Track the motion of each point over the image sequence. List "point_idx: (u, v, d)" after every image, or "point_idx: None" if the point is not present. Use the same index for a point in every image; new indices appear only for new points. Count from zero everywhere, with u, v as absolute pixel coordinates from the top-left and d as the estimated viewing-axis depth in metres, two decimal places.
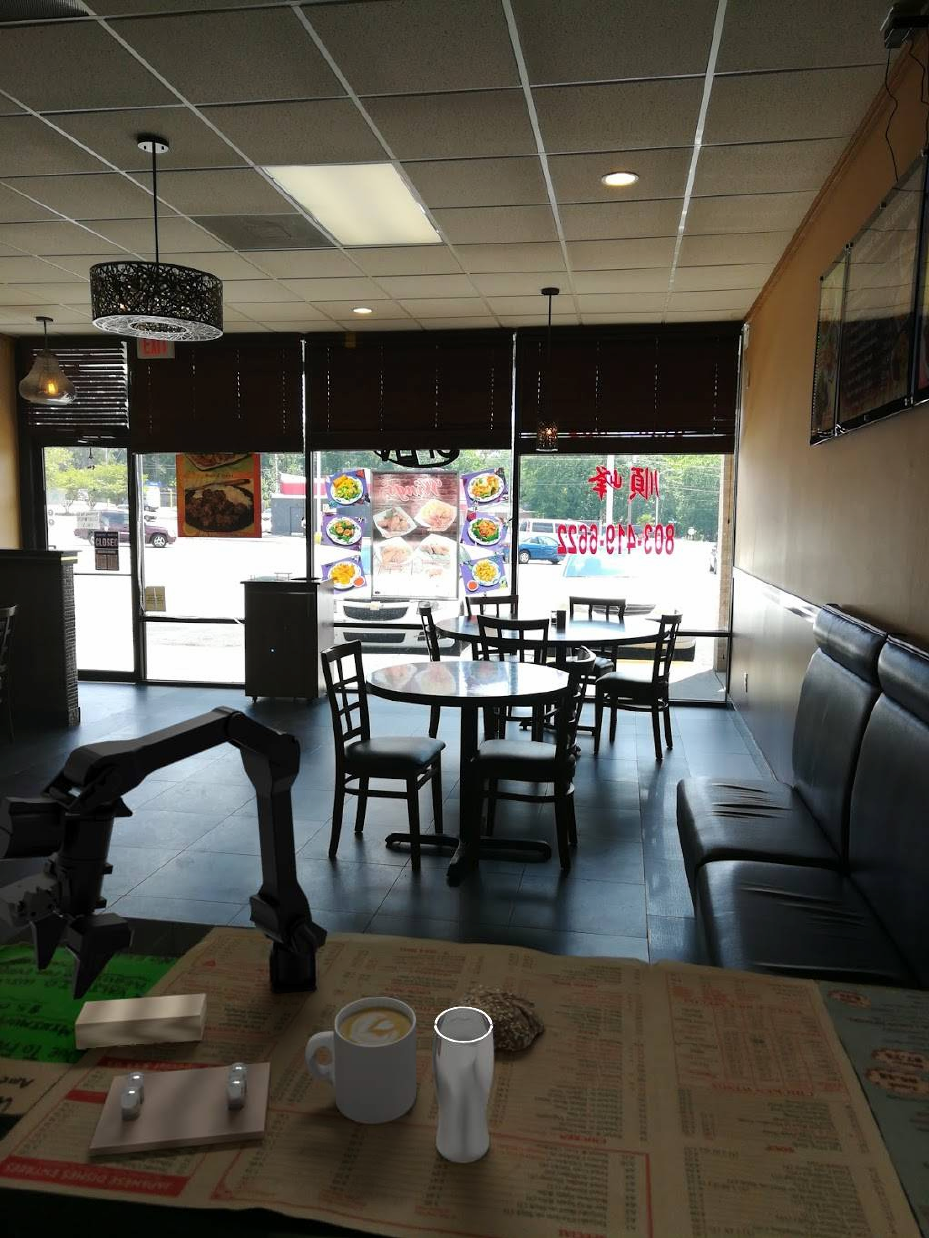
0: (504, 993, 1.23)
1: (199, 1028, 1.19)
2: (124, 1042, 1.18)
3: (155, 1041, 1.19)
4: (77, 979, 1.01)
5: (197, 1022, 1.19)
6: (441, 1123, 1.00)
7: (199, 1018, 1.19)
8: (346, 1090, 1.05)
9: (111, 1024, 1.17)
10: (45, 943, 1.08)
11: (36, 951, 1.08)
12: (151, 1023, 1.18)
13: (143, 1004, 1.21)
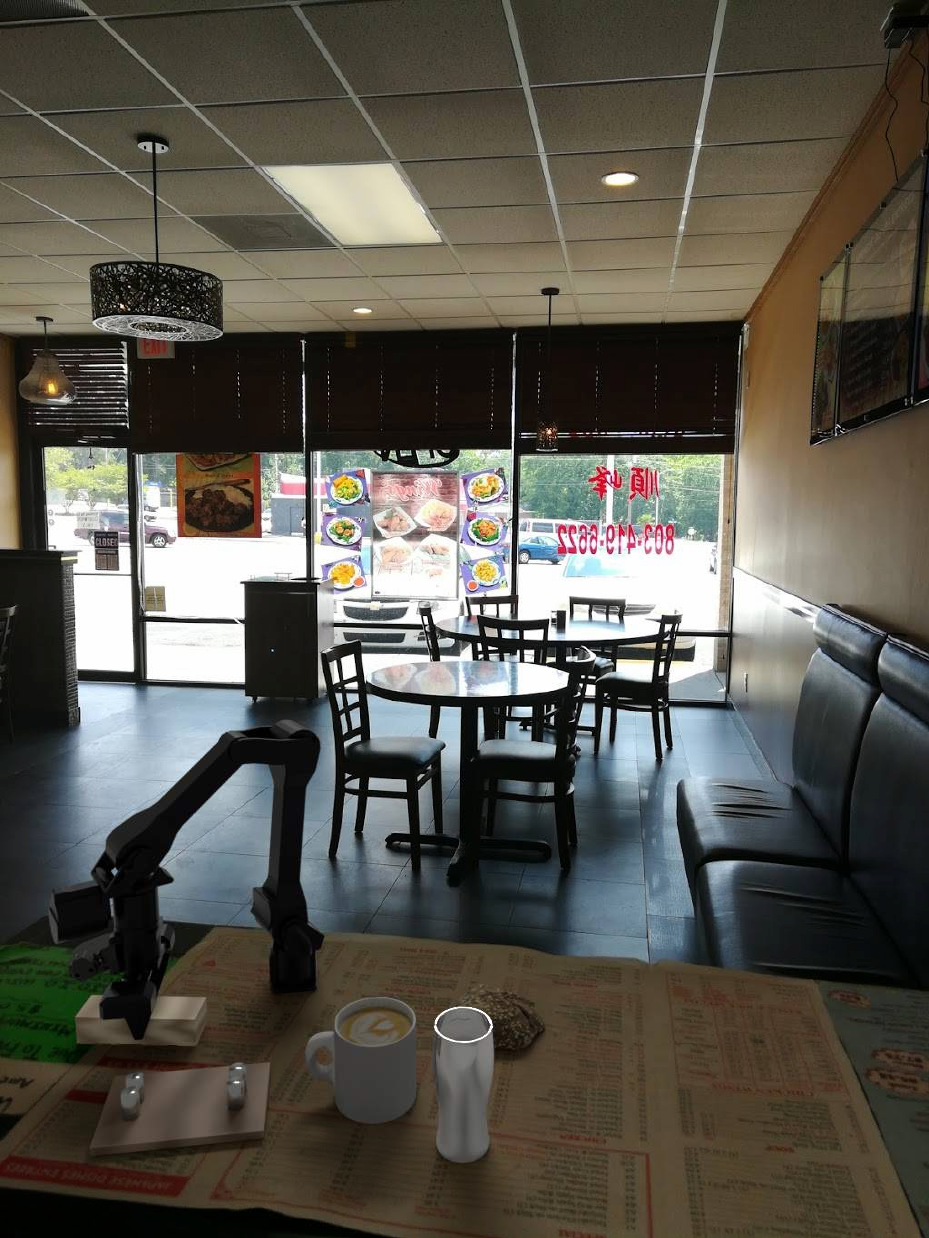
0: (504, 992, 1.24)
1: (194, 1032, 1.18)
2: (121, 1039, 1.18)
3: (151, 1041, 1.18)
4: (130, 1025, 1.16)
5: (191, 1026, 1.18)
6: (441, 1123, 1.00)
7: (194, 1022, 1.18)
8: (346, 1090, 1.05)
9: (109, 1020, 1.18)
10: None
11: None
12: None
13: None
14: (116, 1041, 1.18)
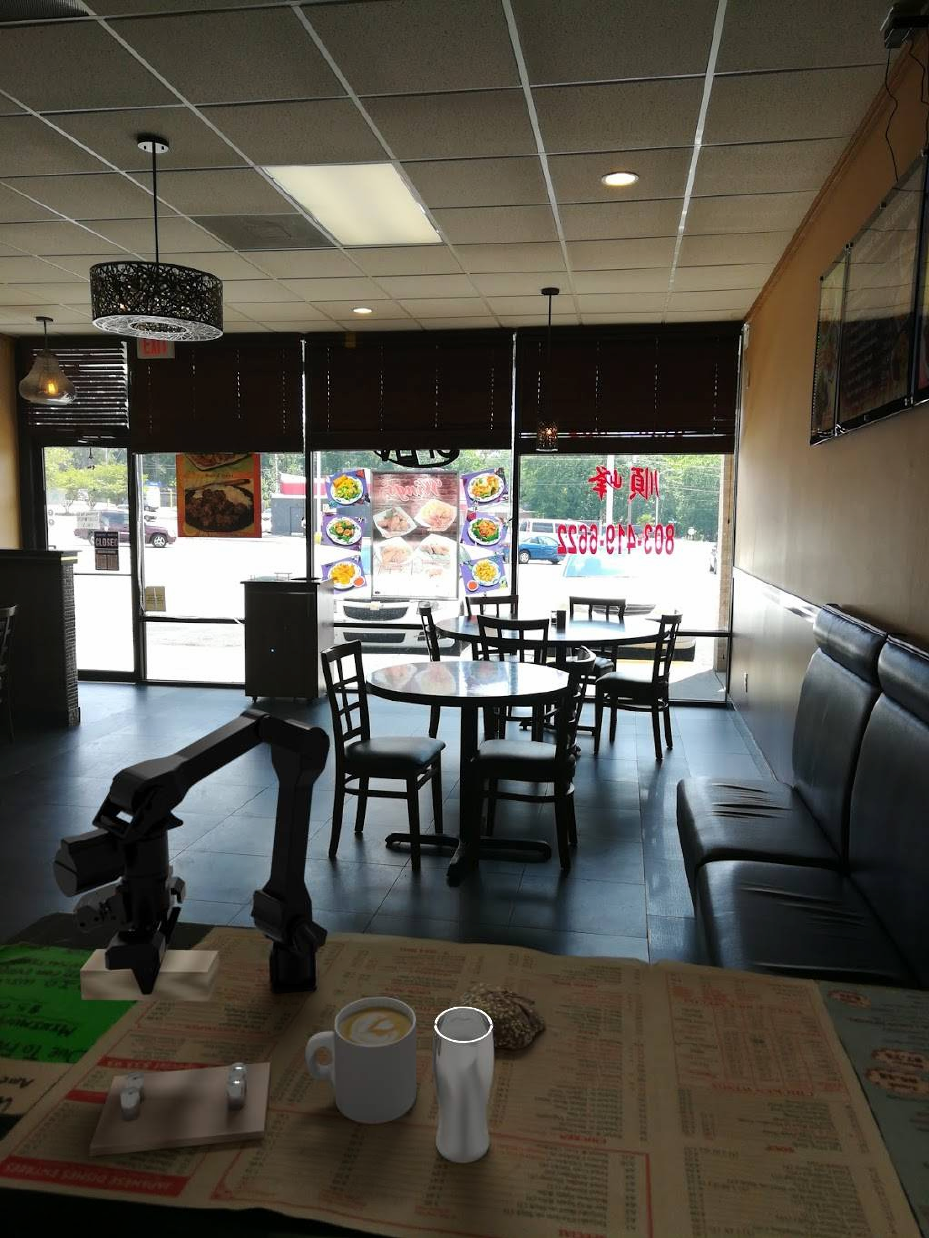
0: (505, 991, 1.24)
1: (206, 986, 1.11)
2: (129, 994, 1.12)
3: (161, 996, 1.12)
4: (138, 978, 1.10)
5: (203, 979, 1.11)
6: (441, 1123, 1.00)
7: (206, 975, 1.11)
8: (346, 1090, 1.05)
9: (116, 973, 1.11)
10: None
11: None
12: (157, 976, 1.11)
13: None
14: (123, 996, 1.12)
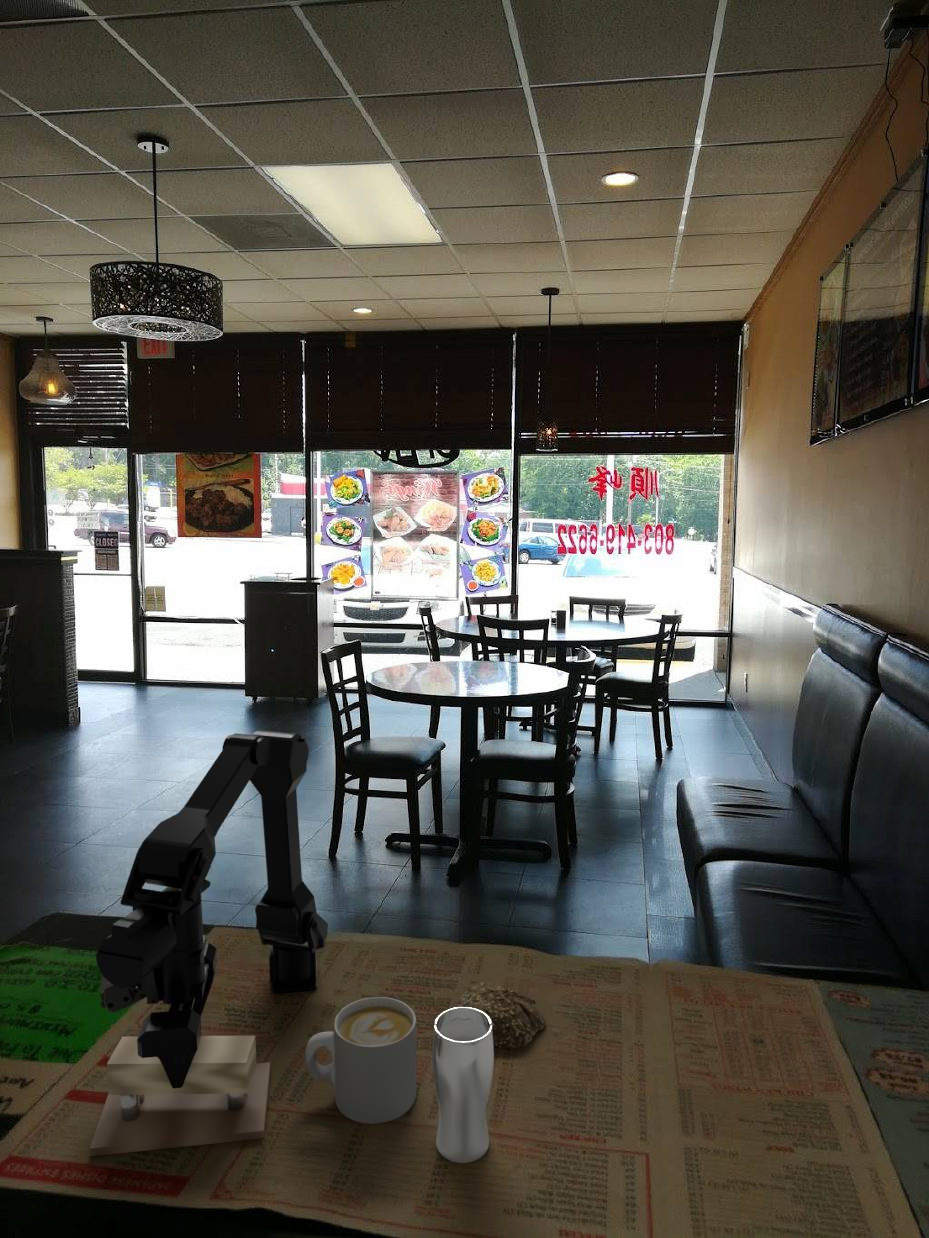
0: (505, 990, 1.24)
1: (245, 1077, 1.03)
2: (161, 1088, 1.03)
3: (195, 1089, 1.03)
4: (167, 1071, 0.99)
5: (242, 1070, 1.03)
6: (441, 1123, 1.00)
7: (245, 1066, 1.03)
8: (346, 1090, 1.05)
9: (147, 1066, 1.03)
10: None
11: None
12: (191, 1068, 1.03)
13: None
14: (155, 1090, 1.03)
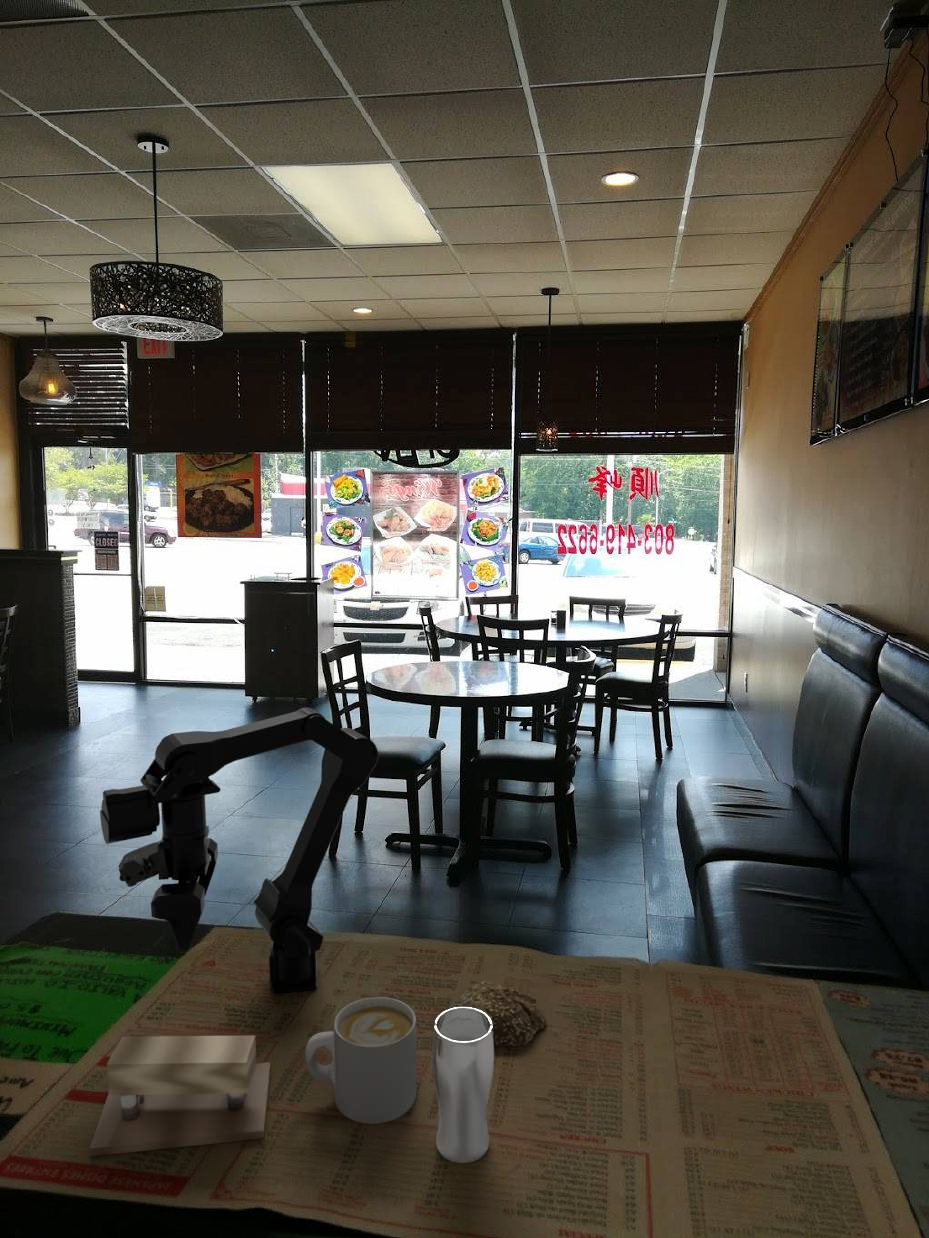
0: (506, 989, 1.24)
1: (245, 1077, 1.03)
2: (161, 1088, 1.03)
3: (195, 1089, 1.03)
4: (176, 935, 1.18)
5: (242, 1070, 1.03)
6: (441, 1123, 1.00)
7: (245, 1066, 1.03)
8: (346, 1090, 1.05)
9: (147, 1066, 1.03)
10: None
11: None
12: (191, 1068, 1.03)
13: (185, 1044, 1.06)
14: (155, 1090, 1.03)
